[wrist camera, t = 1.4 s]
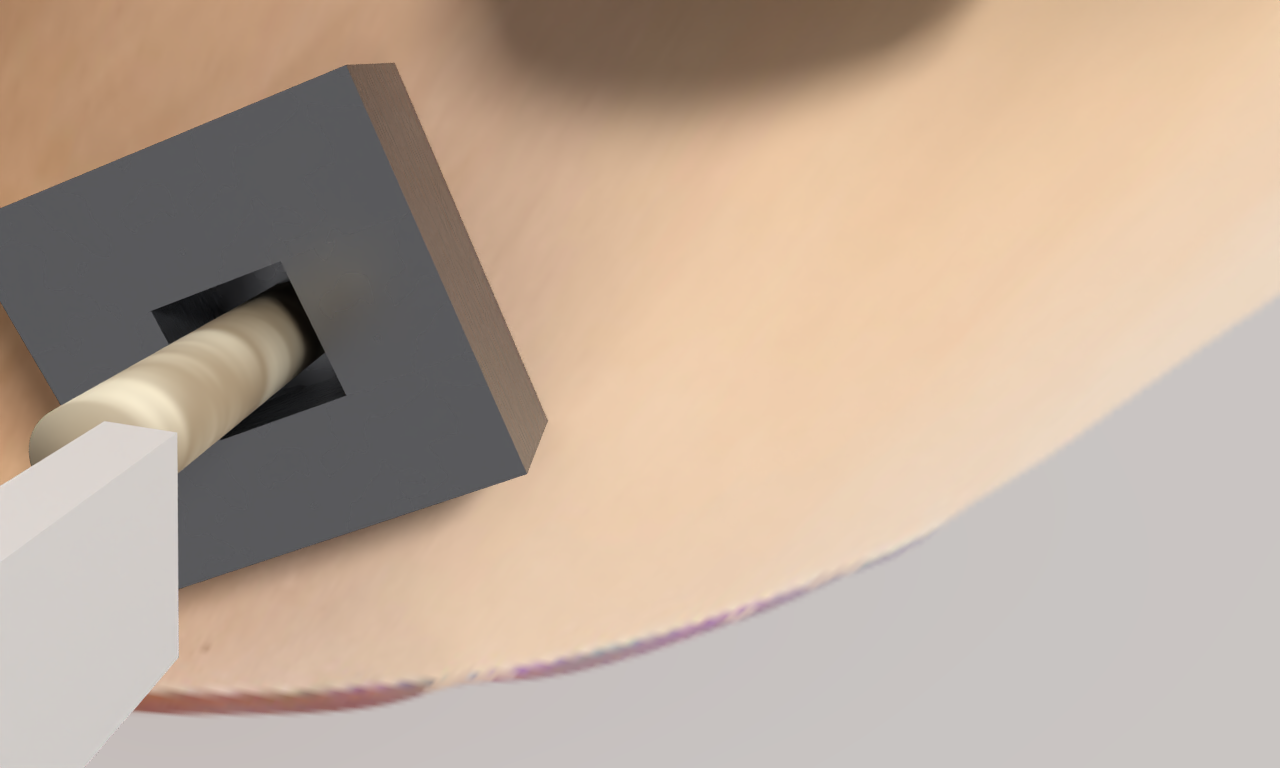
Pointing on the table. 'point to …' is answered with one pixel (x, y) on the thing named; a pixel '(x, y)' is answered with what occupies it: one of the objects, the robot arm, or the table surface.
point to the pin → (196, 379)
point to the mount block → (329, 292)
